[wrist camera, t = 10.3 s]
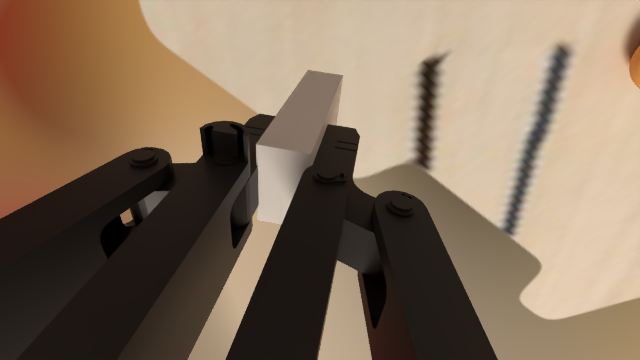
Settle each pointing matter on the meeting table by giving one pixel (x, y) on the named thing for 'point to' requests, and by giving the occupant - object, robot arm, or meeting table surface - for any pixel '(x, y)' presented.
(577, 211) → the meeting table surface
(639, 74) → the ball
